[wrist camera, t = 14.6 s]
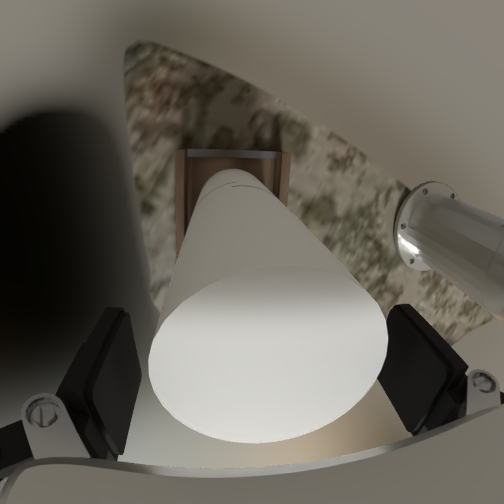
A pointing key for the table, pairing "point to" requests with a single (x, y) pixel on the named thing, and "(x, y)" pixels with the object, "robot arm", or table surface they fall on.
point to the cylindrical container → (261, 322)
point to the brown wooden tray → (215, 160)
